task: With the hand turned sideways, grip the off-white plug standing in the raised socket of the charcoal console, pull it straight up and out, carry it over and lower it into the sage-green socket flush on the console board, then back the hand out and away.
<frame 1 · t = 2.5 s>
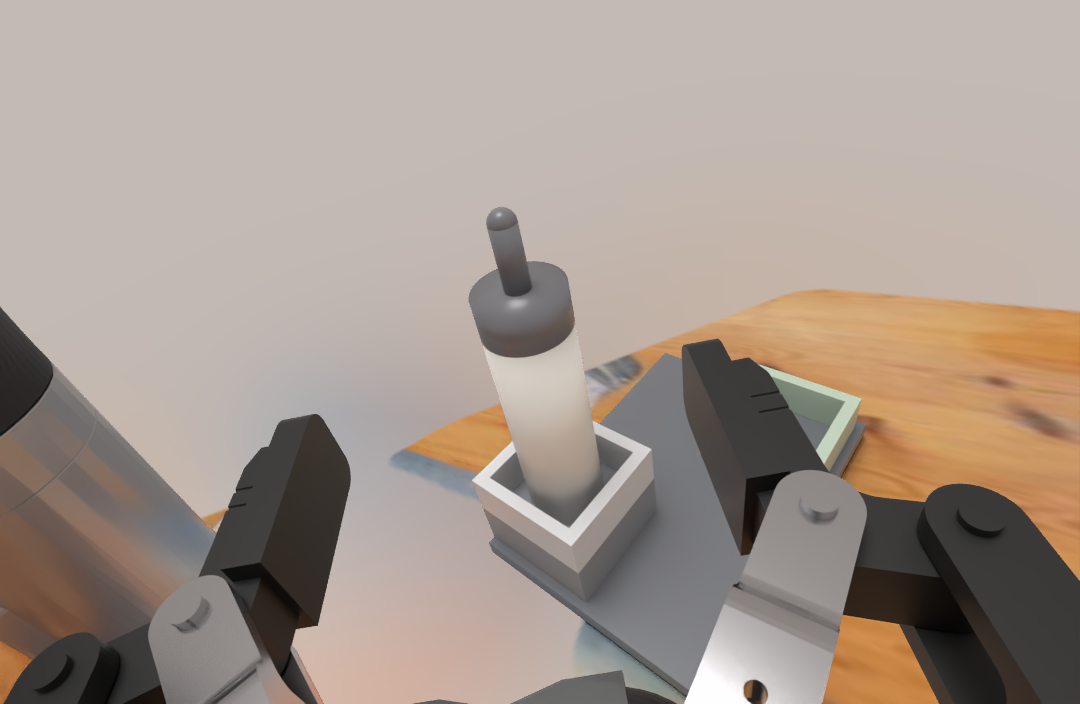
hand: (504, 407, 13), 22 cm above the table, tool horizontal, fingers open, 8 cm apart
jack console: (682, 492, 36), on the table
plug: (567, 493, 32), point 4 cm above the table, touching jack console
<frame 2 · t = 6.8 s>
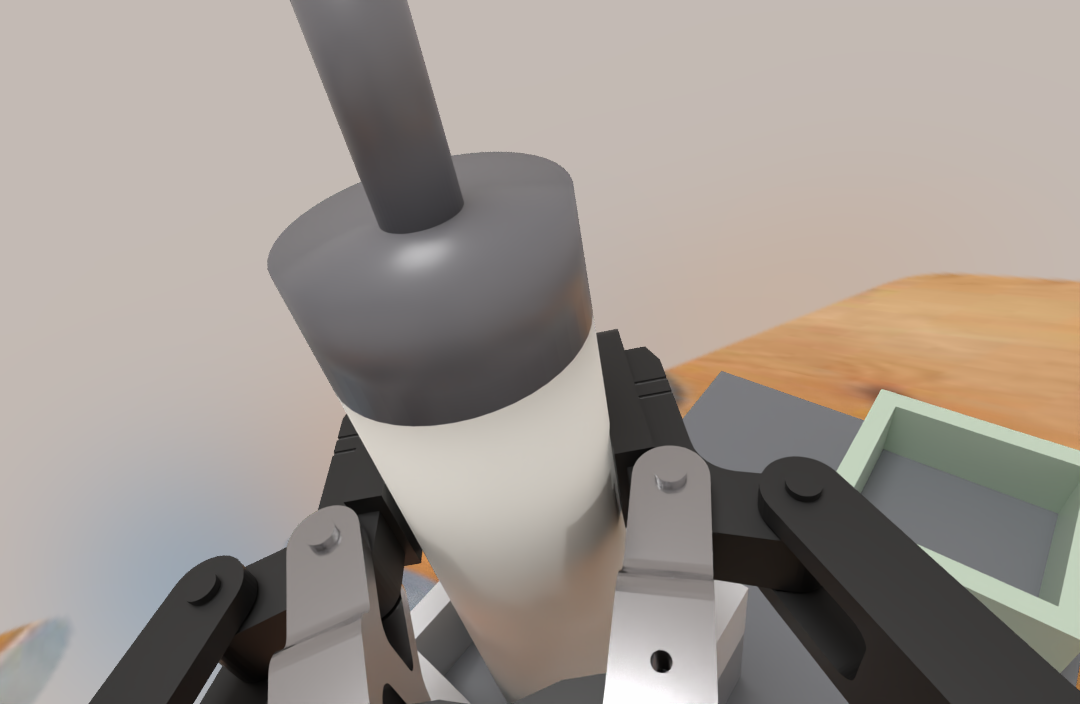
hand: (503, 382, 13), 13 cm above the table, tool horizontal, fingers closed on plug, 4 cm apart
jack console: (779, 630, 20), on the table
plug: (571, 659, 16), point 4 cm above the table, touching gripper, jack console
when the fingers open (11 cm above the table, at t = 11.7 s): plug drops 1 cm, resting on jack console.
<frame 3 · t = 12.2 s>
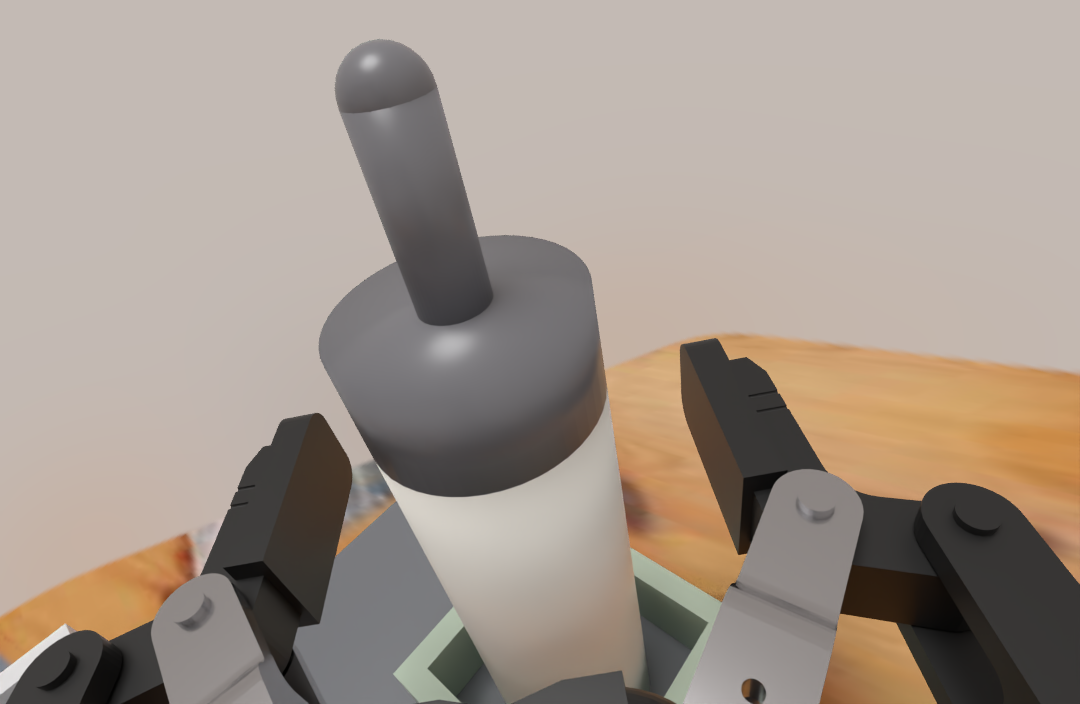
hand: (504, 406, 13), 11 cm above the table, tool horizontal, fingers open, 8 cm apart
plug: (579, 684, 17), point 1 cm above the table, touching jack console
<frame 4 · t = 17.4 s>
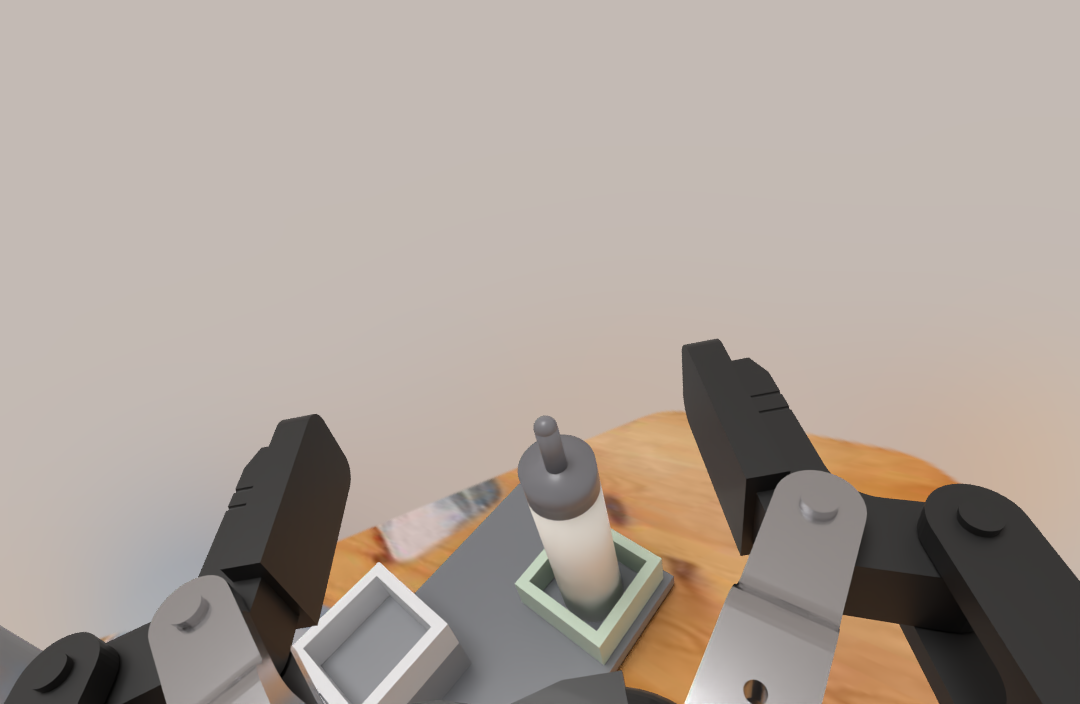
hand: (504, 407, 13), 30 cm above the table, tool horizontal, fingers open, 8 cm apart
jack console: (503, 640, 39), on the table
plug: (592, 591, 39), point 1 cm above the table, touching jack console
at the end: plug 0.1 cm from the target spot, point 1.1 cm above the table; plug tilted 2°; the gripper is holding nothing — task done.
